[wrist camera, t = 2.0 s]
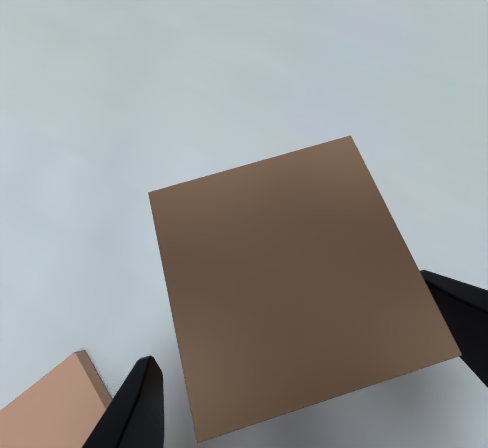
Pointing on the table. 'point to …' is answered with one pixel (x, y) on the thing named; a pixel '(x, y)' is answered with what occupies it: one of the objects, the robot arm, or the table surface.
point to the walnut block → (290, 287)
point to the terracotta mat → (56, 408)
